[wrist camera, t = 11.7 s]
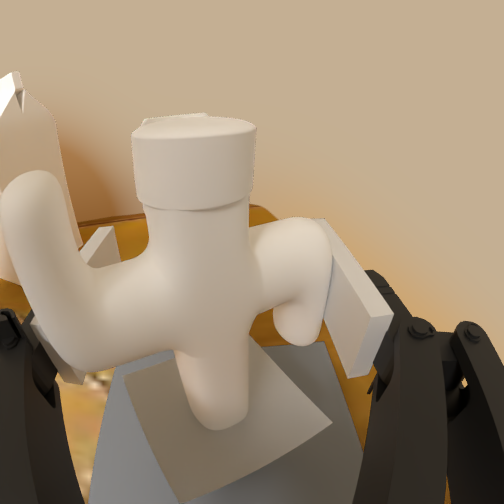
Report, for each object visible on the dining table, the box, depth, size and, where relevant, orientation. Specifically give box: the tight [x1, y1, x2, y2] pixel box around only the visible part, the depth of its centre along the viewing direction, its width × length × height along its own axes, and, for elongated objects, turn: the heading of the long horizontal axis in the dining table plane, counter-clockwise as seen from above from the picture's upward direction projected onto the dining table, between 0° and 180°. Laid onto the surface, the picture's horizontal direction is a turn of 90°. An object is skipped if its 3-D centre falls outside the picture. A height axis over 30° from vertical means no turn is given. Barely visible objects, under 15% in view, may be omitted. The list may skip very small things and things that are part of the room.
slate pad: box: [88, 341, 364, 504], centre depth 14 cm, size 16×16×1 cm
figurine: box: [0, 113, 333, 504], centre depth 10 cm, size 7×9×15 cm
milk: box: [0, 71, 83, 286], centre depth 26 cm, size 12×12×26 cm
